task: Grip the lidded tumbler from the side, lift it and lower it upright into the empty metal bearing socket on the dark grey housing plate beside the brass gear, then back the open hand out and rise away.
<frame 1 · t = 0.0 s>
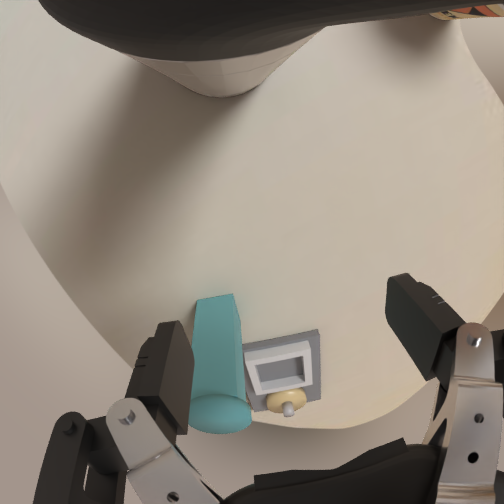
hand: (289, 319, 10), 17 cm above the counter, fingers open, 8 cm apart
housing: (281, 375, 38), on the counter
lidded tumbler: (219, 310, 31), on the counter
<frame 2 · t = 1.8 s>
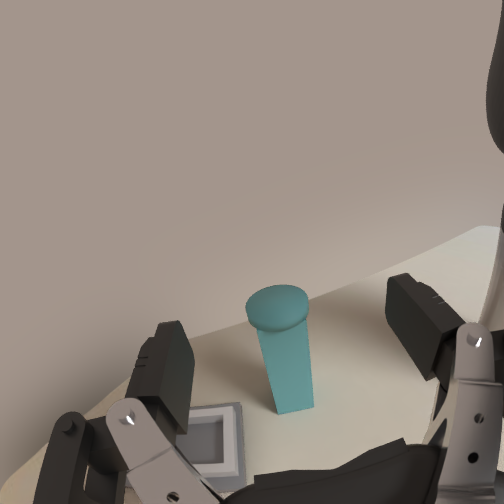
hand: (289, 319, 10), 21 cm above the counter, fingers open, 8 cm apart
housing: (172, 450, 24), on the counter
lidded tumbler: (293, 397, 29), on the counter
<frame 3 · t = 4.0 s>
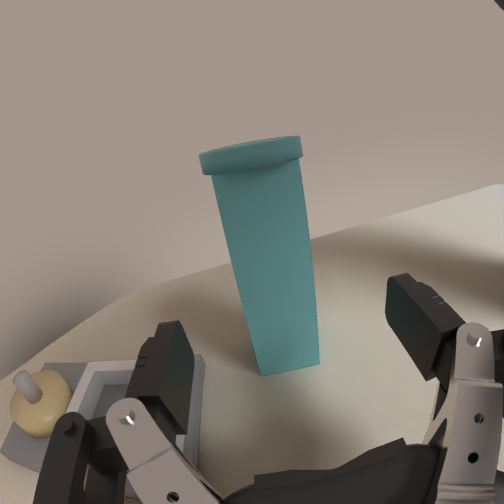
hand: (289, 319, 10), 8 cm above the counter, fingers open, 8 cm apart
housing: (95, 422, 15), on the counter
lidded tumbler: (286, 350, 19), on the counter
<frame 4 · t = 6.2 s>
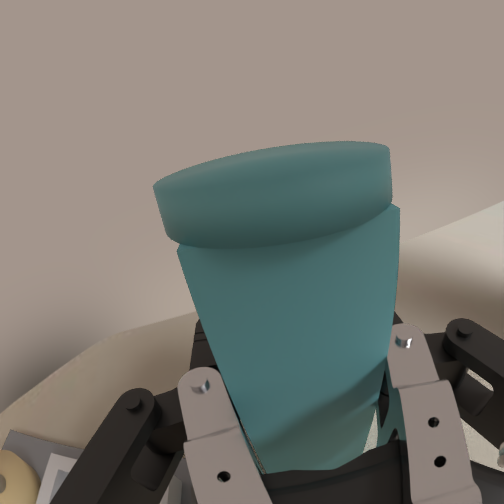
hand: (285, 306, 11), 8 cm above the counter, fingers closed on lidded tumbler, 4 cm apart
lidded tumbler: (309, 452, 12), on the counter, touching gripper
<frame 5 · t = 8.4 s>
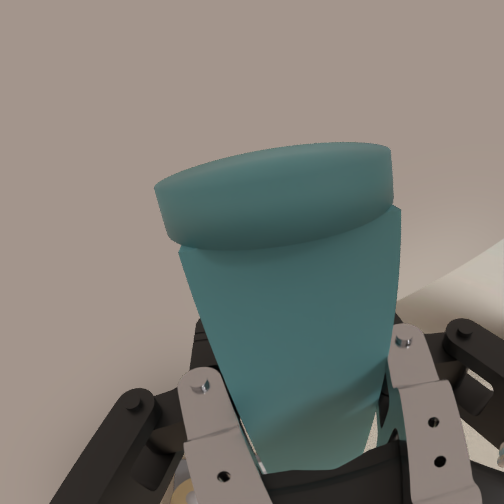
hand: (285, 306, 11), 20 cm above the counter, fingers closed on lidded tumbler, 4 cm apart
lidded tumbler: (309, 452, 12), point 12 cm above the counter, touching gripper
when the fingers open (11 cm above the counter, at t = 10.7 s): lidded tumbler drops 1 cm, resting on housing.
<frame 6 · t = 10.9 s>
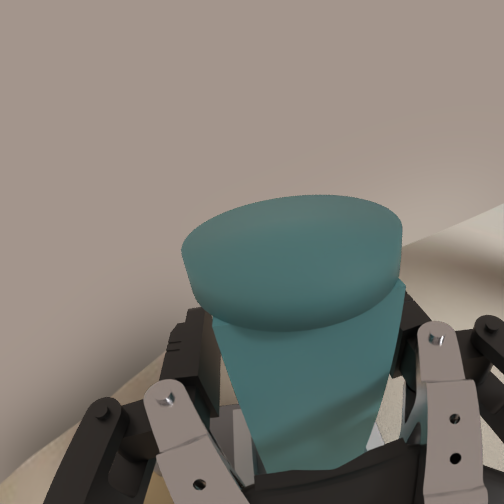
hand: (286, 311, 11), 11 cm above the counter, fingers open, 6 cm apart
housing: (252, 476, 13), on the counter
lidded tumbler: (308, 462, 12), point 1 cm above the counter, touching housing
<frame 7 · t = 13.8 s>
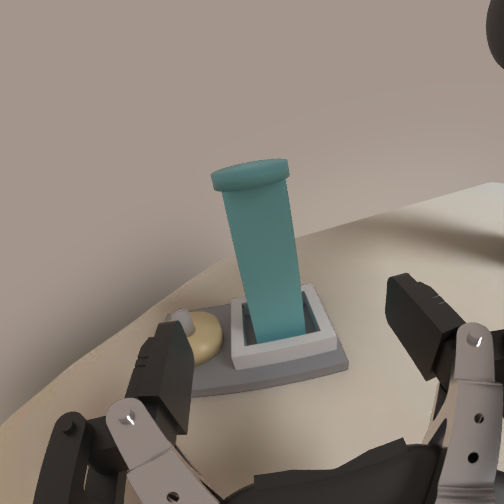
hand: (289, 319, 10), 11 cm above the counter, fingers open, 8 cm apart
housing: (242, 344, 25), on the counter
lidded tumbler: (279, 329, 24), point 1 cm above the counter, touching housing
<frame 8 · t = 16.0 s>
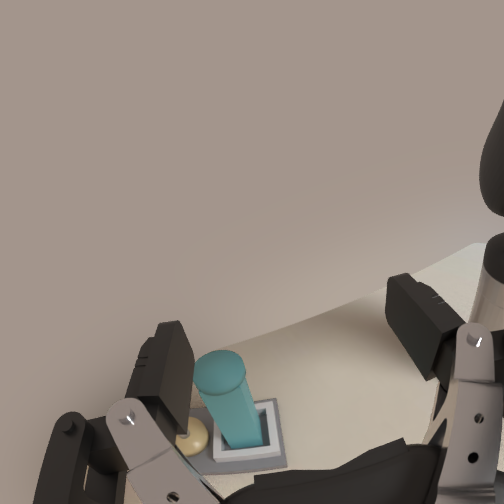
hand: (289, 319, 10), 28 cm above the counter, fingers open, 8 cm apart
housing: (222, 440, 32), on the counter
lidded tumbler: (246, 434, 31), point 1 cm above the counter, touching housing
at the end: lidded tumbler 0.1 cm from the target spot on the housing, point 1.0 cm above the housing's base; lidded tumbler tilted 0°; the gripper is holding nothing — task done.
